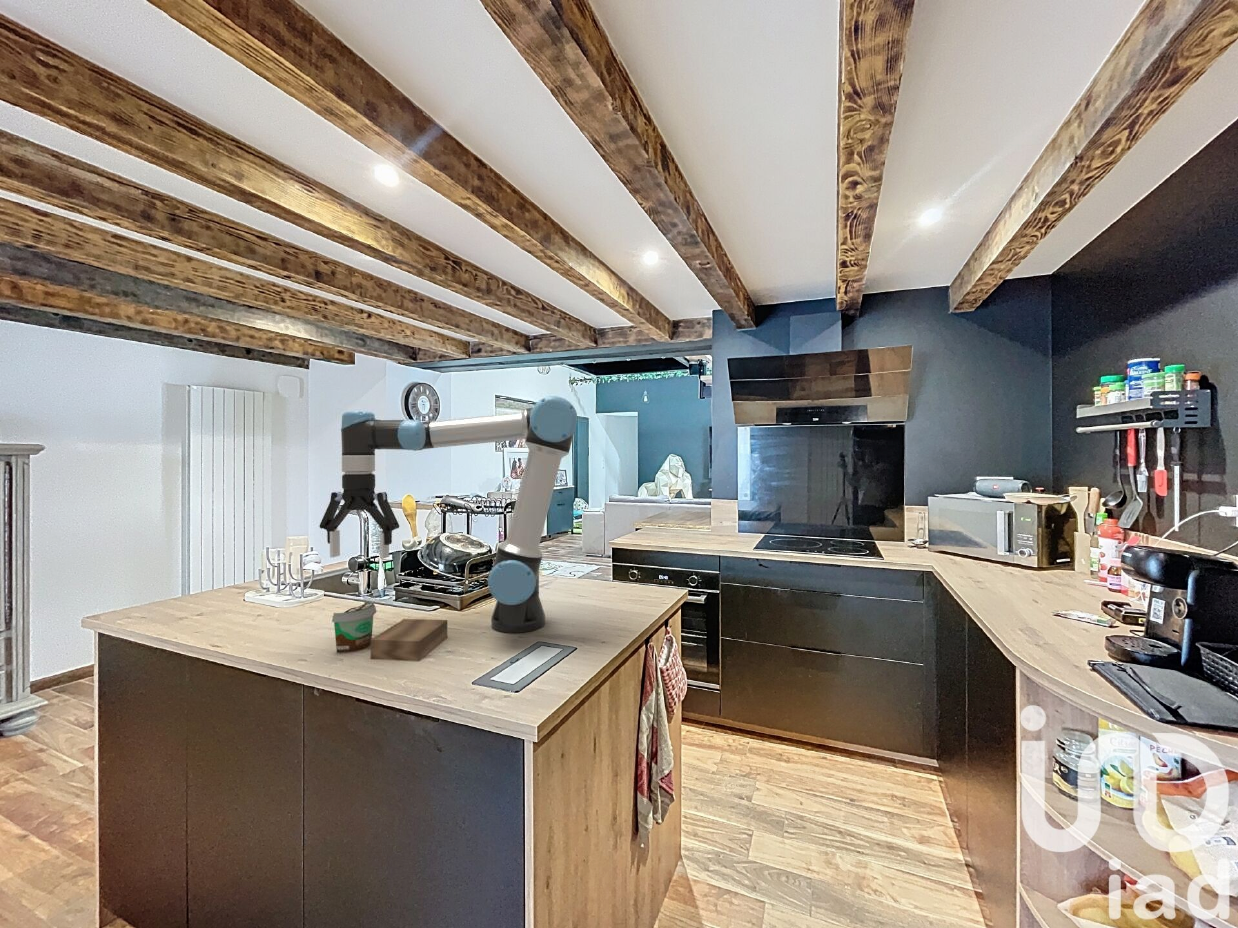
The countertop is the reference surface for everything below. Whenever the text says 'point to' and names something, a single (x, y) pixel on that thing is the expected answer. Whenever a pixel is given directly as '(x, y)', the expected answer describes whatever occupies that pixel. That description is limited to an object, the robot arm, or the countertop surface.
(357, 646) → the food container
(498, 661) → the countertop surface
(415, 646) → the walnut box
